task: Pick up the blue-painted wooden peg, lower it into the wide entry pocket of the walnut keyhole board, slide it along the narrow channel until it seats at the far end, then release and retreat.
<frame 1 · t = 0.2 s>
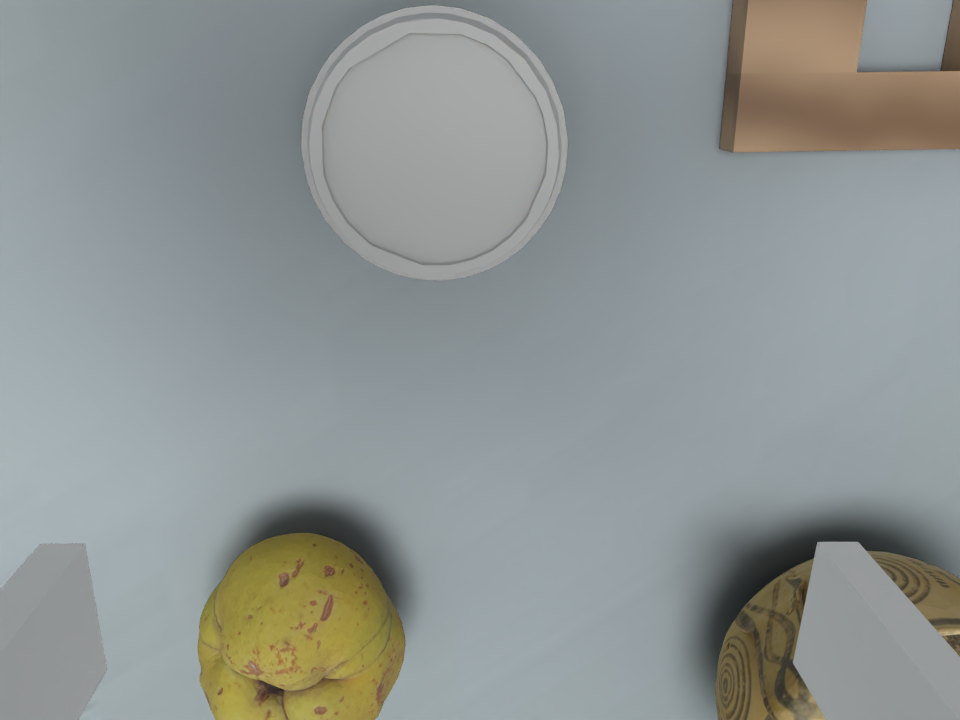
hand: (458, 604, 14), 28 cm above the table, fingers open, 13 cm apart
fruit: (318, 581, 47), on the table
ceramic bowl: (814, 618, 49), on the table
disposable coffee cup: (438, 131, 38), on the table
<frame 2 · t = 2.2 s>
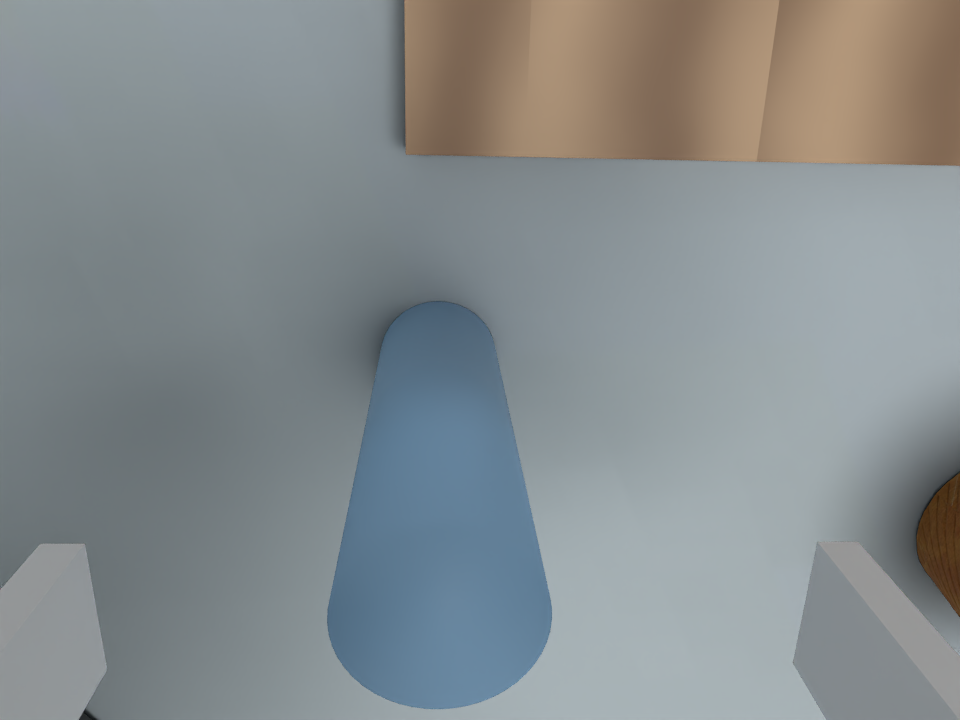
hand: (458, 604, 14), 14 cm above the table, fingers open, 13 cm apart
peg: (438, 356, 27), on the table
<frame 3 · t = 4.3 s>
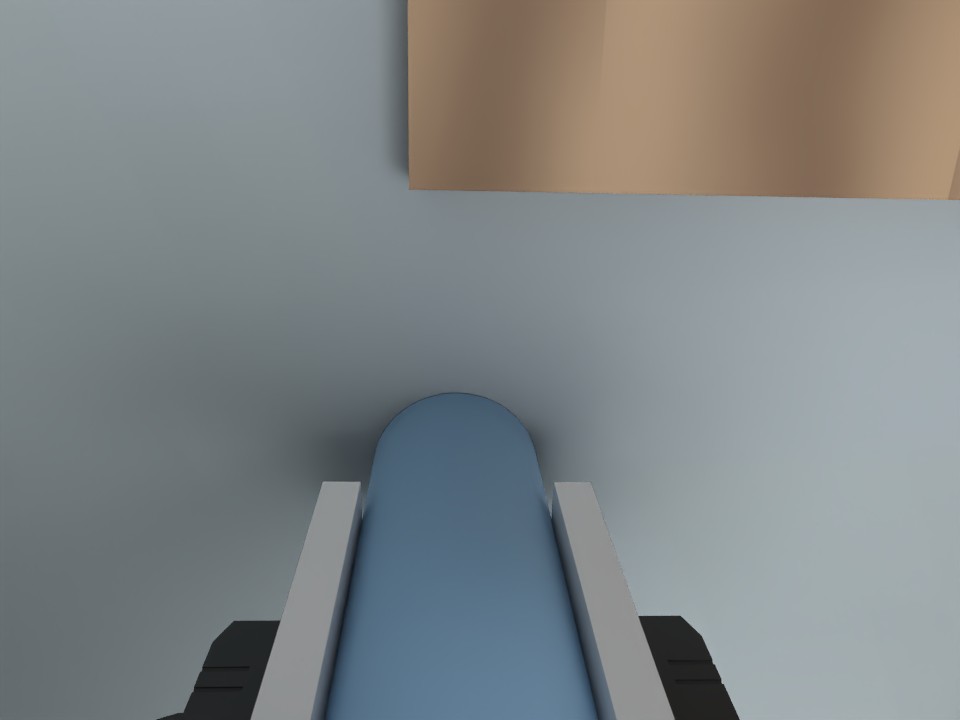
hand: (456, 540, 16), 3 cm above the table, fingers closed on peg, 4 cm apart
peg: (455, 468, 19), on the table, touching gripper
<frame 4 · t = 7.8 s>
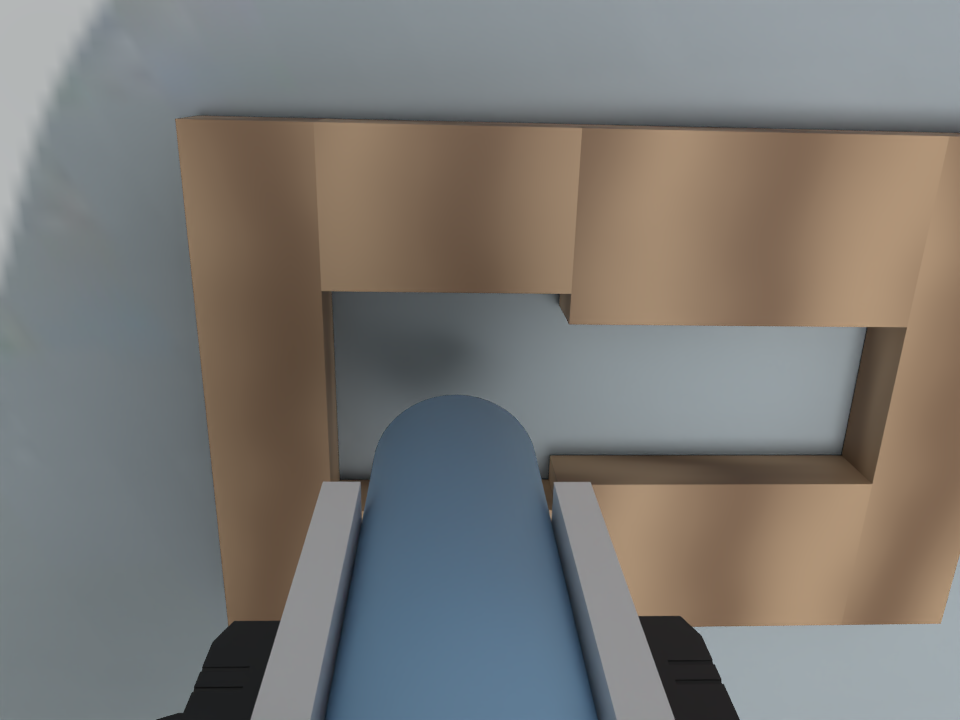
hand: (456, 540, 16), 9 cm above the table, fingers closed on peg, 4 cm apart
keyhole board: (600, 383, 25), on the table
peg: (455, 470, 19), point 6 cm above the table, touching gripper
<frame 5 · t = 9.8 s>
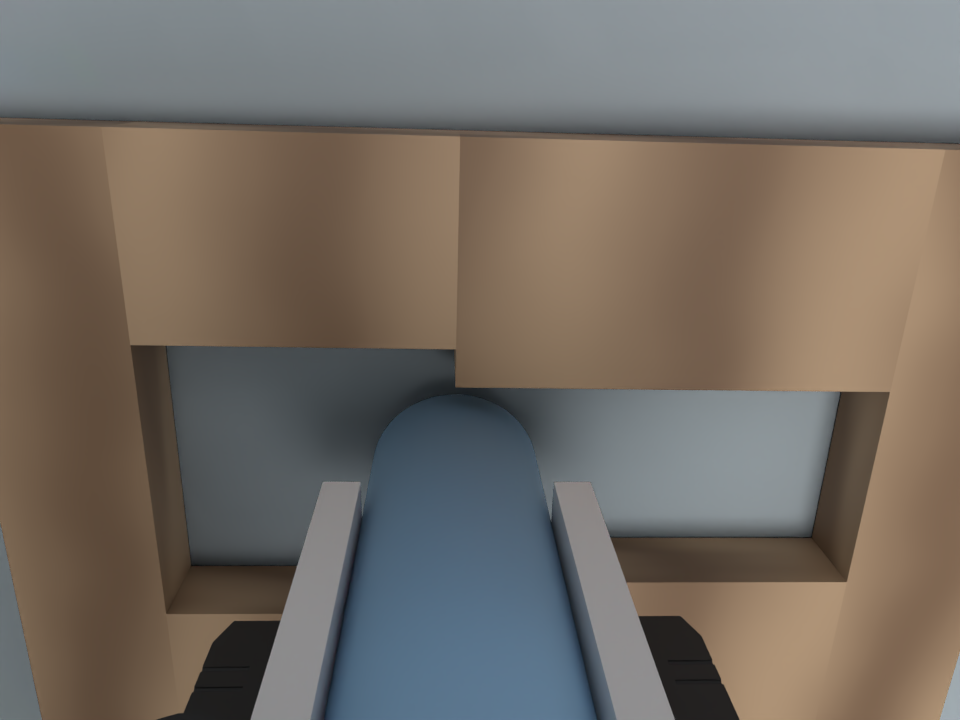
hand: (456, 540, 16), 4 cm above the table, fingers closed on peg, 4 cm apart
keyhole board: (510, 451, 20), on the table
peg: (454, 469, 19), point 1 cm above the table, touching gripper
when the fingers open (4 cm above the table, at t = 11.6 s): peg stays where it is, resting in keyhole board.
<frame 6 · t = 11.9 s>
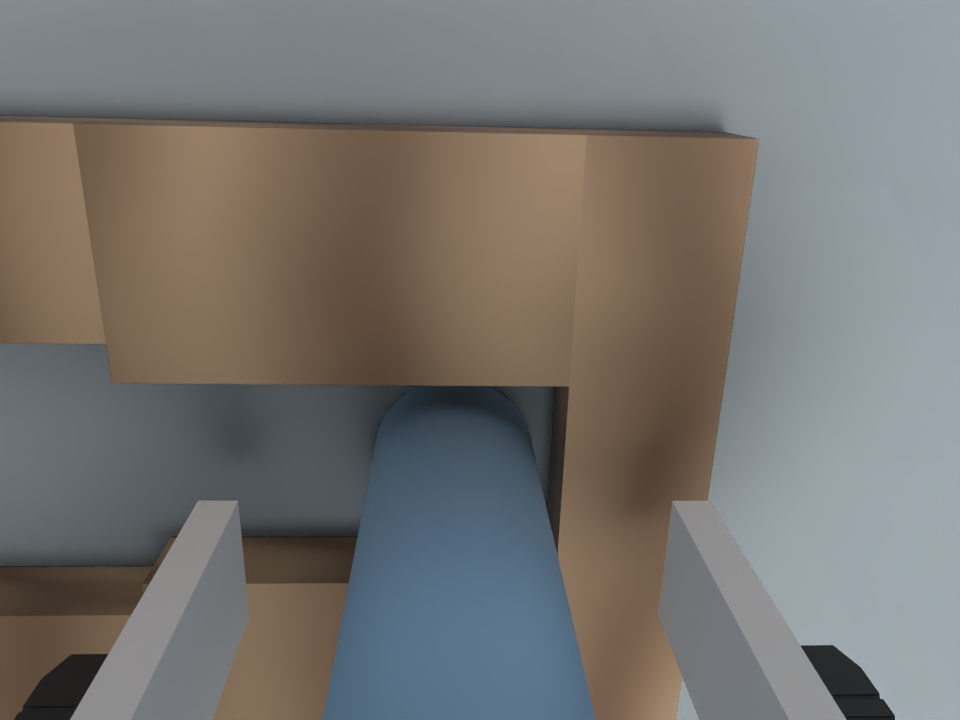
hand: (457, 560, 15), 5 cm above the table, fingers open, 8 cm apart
keyhole board: (218, 449, 20), on the table
peg: (453, 450, 20), resting in keyhole board
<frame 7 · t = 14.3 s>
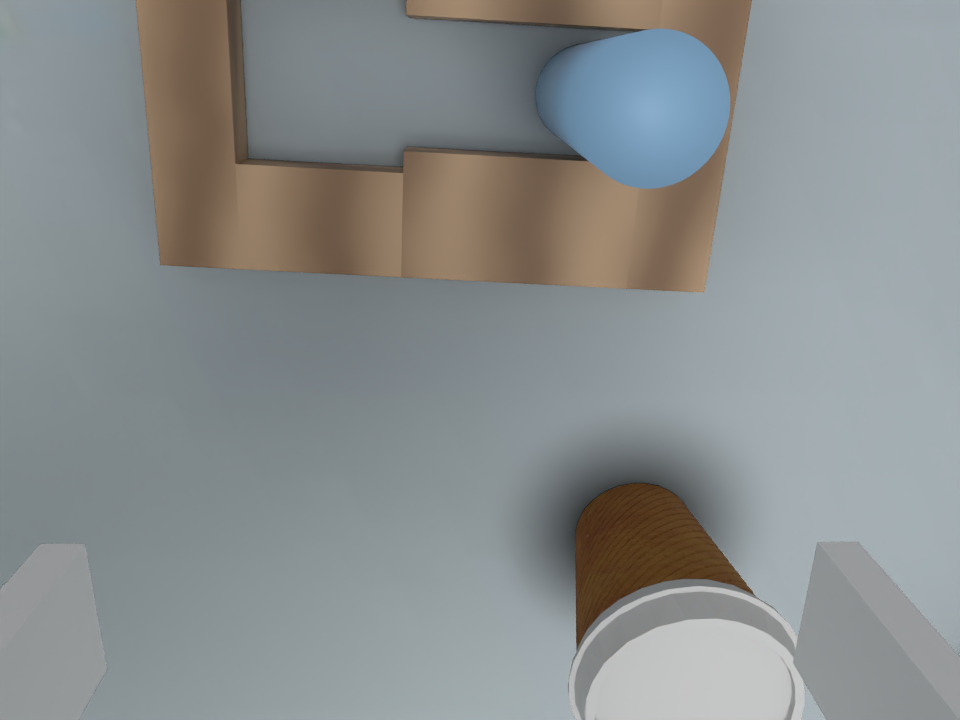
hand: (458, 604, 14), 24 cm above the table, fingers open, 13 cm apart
keyhole board: (443, 86, 33), on the table
disposable coffee cup: (632, 532, 41), on the table
peg: (581, 94, 33), resting in keyhole board
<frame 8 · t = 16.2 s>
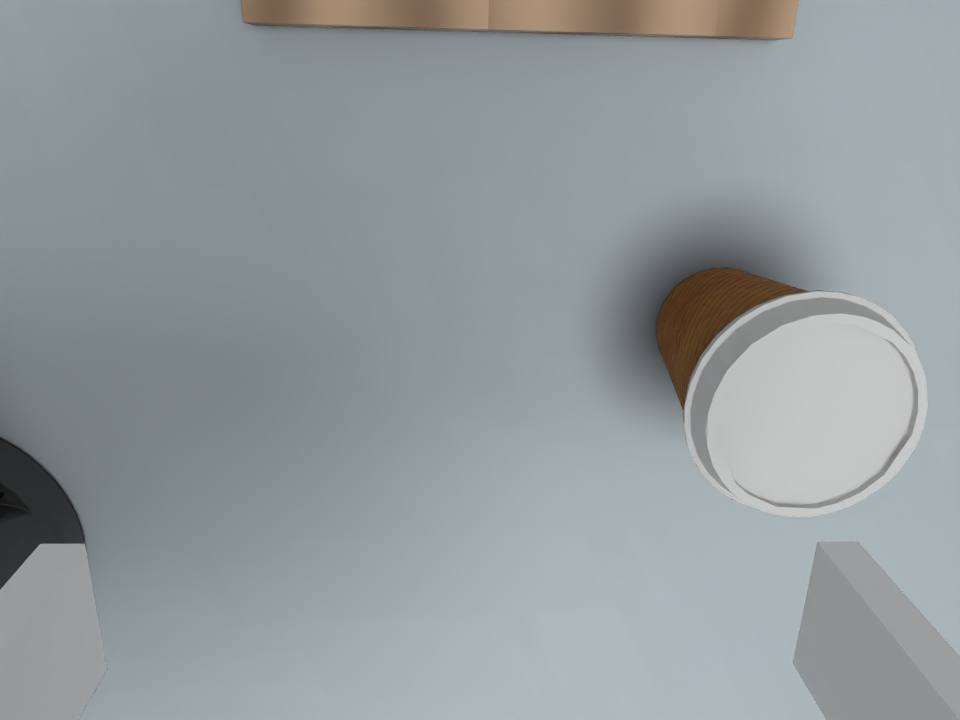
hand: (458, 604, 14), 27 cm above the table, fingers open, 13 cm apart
disposable coffee cup: (713, 324, 41), on the table
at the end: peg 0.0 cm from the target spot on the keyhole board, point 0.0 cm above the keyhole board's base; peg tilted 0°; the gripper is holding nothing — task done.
